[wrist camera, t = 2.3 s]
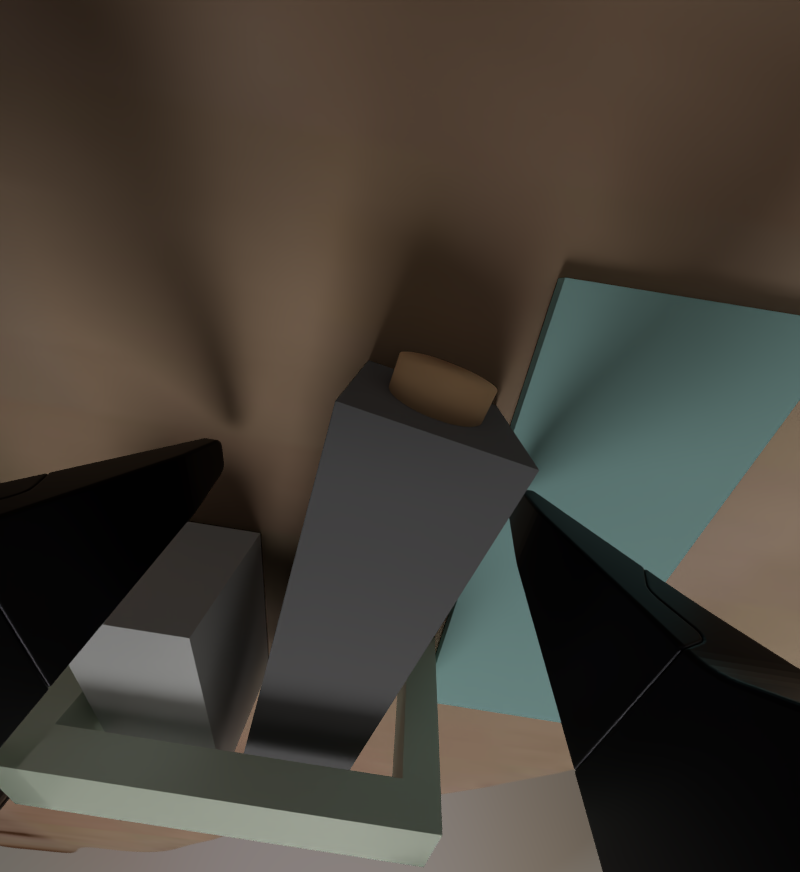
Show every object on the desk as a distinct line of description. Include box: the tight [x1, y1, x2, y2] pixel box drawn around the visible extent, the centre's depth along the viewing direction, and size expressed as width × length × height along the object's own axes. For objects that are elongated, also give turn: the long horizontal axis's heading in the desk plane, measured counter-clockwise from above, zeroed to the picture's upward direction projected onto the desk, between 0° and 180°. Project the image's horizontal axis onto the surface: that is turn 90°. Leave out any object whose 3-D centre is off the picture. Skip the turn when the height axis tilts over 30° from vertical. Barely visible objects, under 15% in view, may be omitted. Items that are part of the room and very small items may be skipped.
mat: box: [435, 278, 800, 723], centre depth 12 cm, size 19×7×1 cm, turn 172°
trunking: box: [69, 522, 268, 752], centre depth 12 cm, size 9×4×4 cm, turn 172°
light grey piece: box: [0, 636, 442, 867], centre depth 12 cm, size 3×13×6 cm, turn 82°
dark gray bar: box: [244, 351, 539, 770], centre depth 11 cm, size 18×4×4 cm, turn 161°
